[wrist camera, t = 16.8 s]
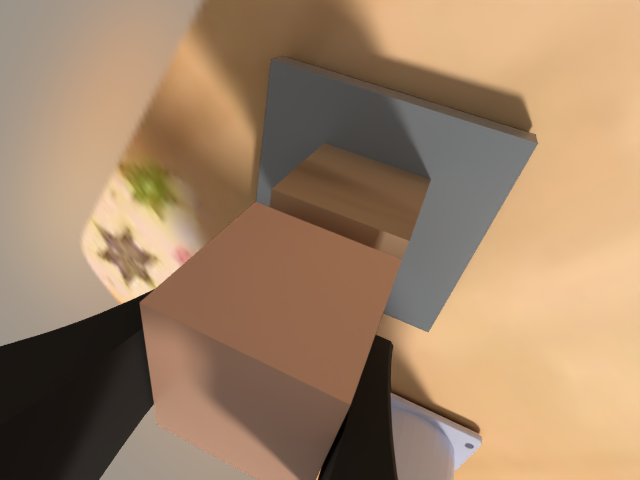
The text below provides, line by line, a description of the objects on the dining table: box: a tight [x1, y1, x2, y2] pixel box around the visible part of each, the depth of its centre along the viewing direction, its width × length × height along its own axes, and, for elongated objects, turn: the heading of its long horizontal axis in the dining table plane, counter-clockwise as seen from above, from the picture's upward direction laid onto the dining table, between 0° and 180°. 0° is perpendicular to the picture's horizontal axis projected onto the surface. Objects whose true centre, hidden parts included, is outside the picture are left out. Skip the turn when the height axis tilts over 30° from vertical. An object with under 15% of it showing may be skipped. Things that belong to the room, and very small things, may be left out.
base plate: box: [256, 56, 538, 332], centre depth 17 cm, size 10×10×1 cm
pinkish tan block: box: [140, 202, 402, 480], centre depth 10 cm, size 5×4×5 cm
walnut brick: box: [270, 143, 431, 260], centre depth 15 cm, size 5×4×5 cm
